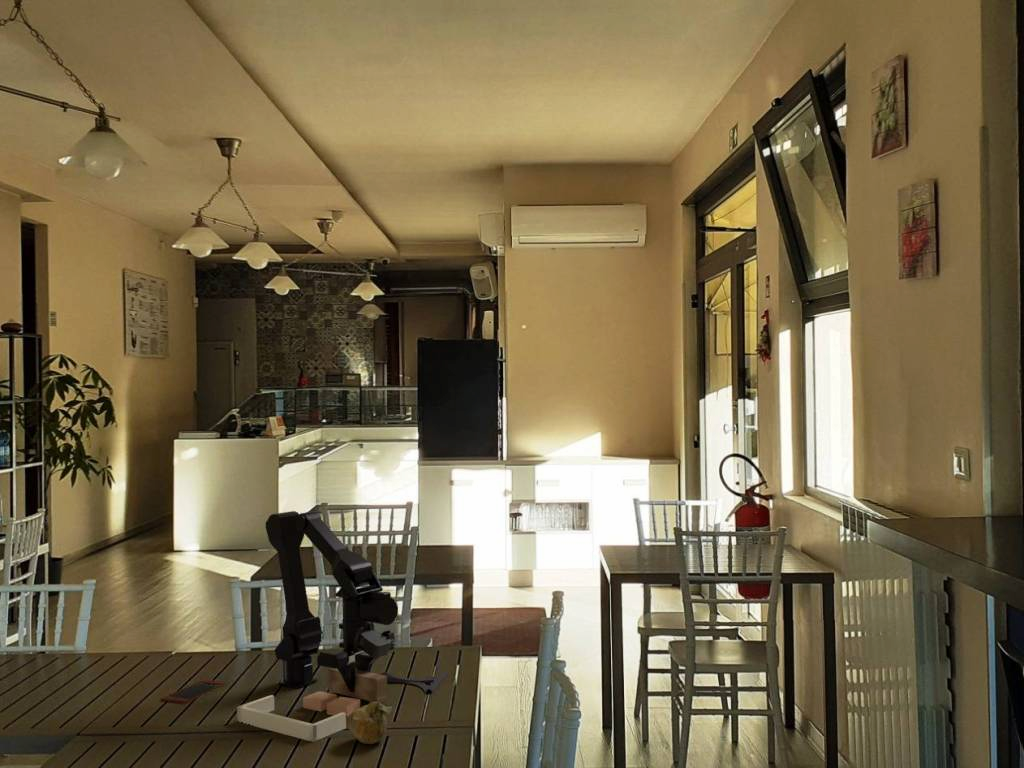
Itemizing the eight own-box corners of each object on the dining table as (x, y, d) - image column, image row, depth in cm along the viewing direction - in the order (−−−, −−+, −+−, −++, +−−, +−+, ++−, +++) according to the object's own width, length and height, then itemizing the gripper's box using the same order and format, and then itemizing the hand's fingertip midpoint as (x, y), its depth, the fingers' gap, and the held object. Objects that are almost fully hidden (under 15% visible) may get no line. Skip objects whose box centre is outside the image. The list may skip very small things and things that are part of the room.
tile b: (327, 715, 211) (326, 703, 211) (340, 708, 215) (340, 696, 215) (347, 718, 209) (347, 706, 209) (360, 710, 213) (360, 699, 213)
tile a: (303, 709, 215) (303, 697, 215) (319, 702, 220) (319, 691, 220) (320, 712, 213) (320, 701, 213) (336, 706, 217) (336, 694, 217)
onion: (378, 731, 200) (377, 691, 200) (395, 743, 193) (394, 701, 193) (342, 739, 196) (341, 698, 196) (359, 752, 189) (358, 709, 189)
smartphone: (159, 698, 222) (204, 678, 236) (159, 702, 222) (204, 683, 236) (185, 701, 219) (229, 681, 233) (185, 705, 219) (229, 686, 233)
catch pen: (237, 721, 207) (237, 707, 207) (271, 709, 215) (270, 695, 215) (313, 741, 195) (312, 726, 195) (346, 728, 202) (345, 713, 202)
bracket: (388, 675, 240) (387, 663, 240) (448, 677, 237) (448, 665, 237) (368, 694, 226) (368, 682, 226) (432, 696, 223) (432, 684, 223)
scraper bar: (328, 690, 224) (328, 668, 224) (338, 687, 226) (338, 665, 226) (377, 702, 215) (377, 679, 215) (387, 699, 217) (386, 676, 217)
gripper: (352, 632, 208) (354, 708, 208) (411, 614, 223) (413, 684, 224) (314, 626, 215) (316, 699, 215) (374, 608, 230) (376, 676, 230)
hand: (357, 689), depth 221 cm, fingers closed on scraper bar, 3 cm apart
